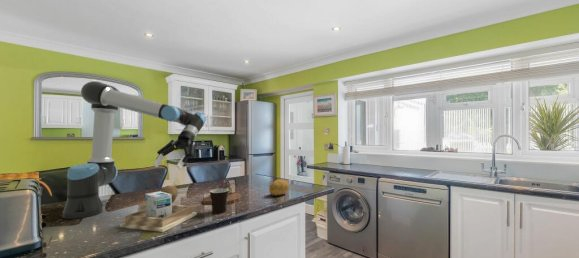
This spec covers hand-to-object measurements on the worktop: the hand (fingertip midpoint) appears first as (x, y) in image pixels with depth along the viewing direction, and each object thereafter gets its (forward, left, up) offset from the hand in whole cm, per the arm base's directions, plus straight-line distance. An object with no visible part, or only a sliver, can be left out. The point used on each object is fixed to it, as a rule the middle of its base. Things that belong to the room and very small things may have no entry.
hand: (166, 166), depth 121 cm
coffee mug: (+23, +10, -22) cm, 34 cm away
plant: (+14, +28, -23) cm, 38 cm away
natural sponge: (-11, +14, -22) cm, 28 cm away
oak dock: (+5, -9, -22) cm, 25 cm away
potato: (+41, +46, -22) cm, 65 cm away
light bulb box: (+5, -11, -21) cm, 24 cm away
